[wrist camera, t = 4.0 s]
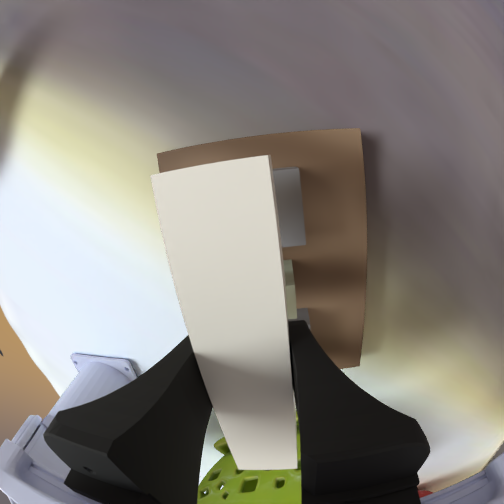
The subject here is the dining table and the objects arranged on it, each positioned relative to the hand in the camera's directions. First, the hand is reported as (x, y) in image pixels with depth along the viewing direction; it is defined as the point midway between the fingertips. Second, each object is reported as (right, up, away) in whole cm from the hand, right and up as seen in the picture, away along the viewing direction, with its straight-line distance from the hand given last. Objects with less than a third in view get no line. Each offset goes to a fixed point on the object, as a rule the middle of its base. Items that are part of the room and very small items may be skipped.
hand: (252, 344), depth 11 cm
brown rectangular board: (+1, +3, +8) cm, 9 cm away
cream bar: (0, +1, +2) cm, 2 cm away
